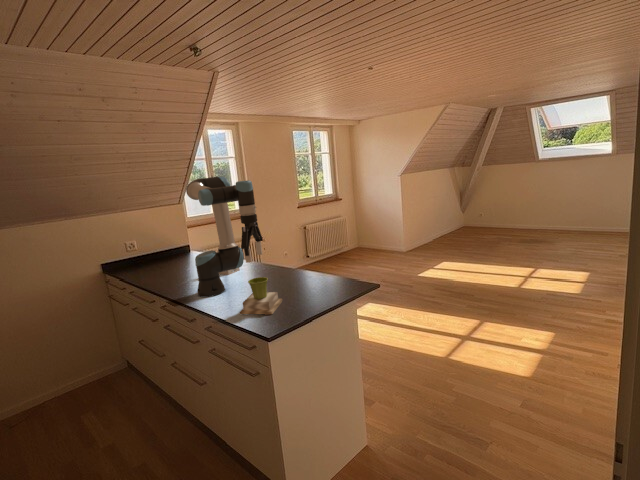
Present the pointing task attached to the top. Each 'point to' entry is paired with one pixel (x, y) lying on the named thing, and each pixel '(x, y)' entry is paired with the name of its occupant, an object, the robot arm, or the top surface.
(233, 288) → the top surface
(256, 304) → the pedestal base
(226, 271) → the grater
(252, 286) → the plant pot
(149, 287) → the top surface
